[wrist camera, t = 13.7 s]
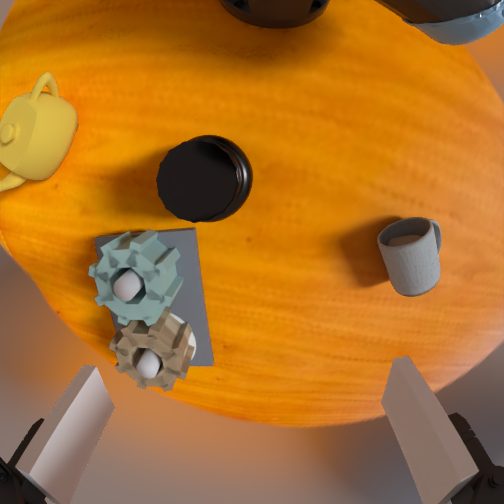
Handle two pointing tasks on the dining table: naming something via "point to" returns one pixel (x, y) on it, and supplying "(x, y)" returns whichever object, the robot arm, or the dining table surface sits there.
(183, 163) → the ink bottle
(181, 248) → the gear board
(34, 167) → the teapot
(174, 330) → the birch gear
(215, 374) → the dining table surface
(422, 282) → the ceramic mug
